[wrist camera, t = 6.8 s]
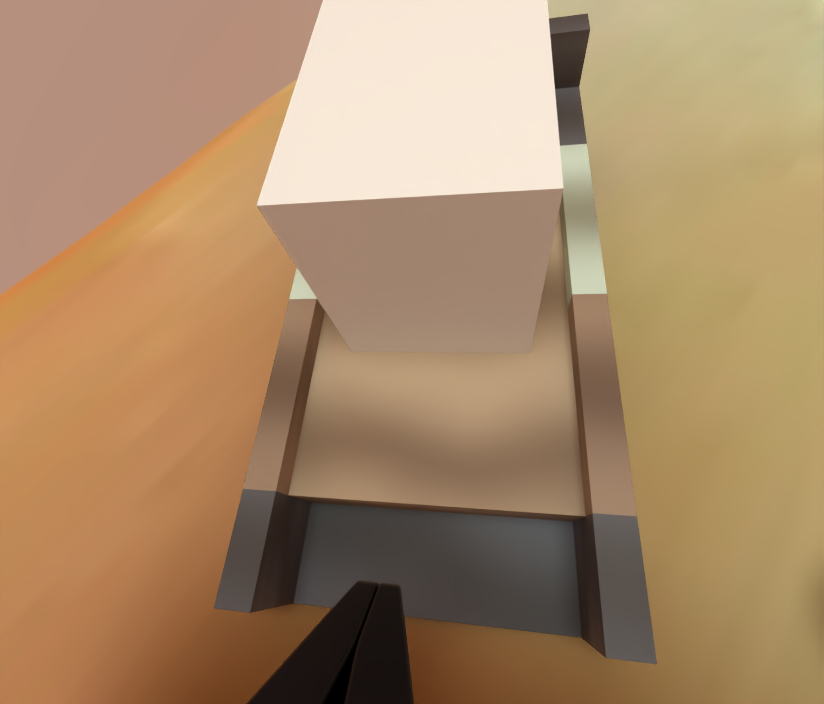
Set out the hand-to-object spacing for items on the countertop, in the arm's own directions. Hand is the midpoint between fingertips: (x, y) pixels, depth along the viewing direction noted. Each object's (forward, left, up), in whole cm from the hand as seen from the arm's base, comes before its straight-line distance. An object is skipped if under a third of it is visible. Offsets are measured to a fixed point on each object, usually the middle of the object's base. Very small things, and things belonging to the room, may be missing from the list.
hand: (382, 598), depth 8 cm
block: (+9, -9, -6) cm, 14 cm away
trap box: (+8, -8, -8) cm, 14 cm away
